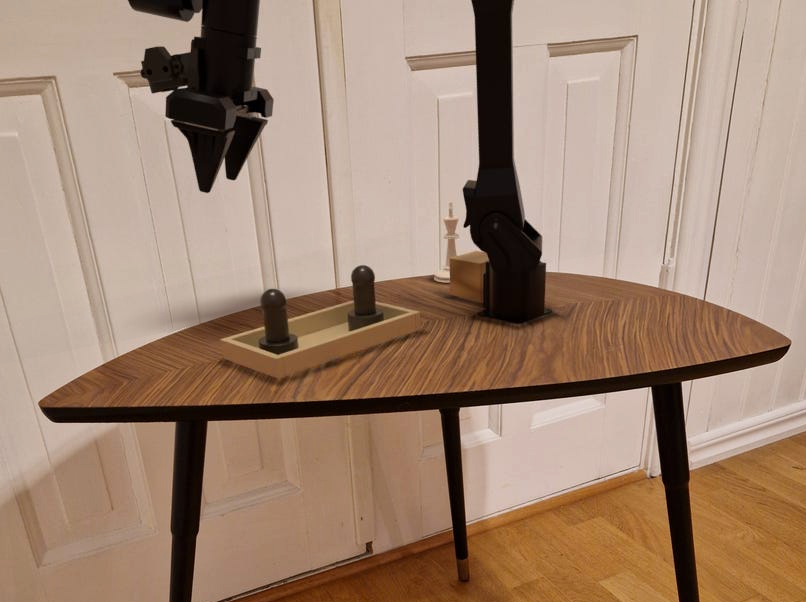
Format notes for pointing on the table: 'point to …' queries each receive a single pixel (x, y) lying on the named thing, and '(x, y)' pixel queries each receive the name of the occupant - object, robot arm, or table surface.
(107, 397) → the table surface
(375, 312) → the pawn
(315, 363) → the tray
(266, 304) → the pawn
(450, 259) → the maple block
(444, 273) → the chess piece
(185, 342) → the table surface
